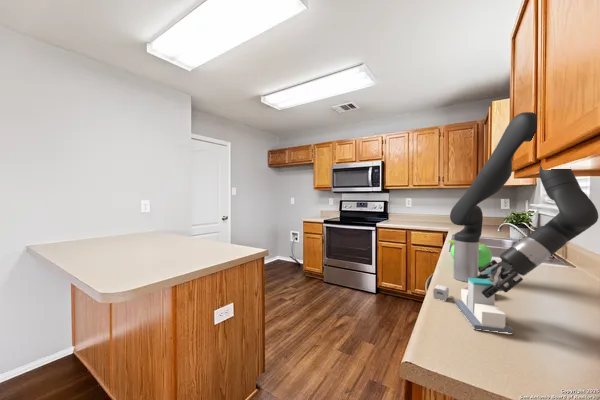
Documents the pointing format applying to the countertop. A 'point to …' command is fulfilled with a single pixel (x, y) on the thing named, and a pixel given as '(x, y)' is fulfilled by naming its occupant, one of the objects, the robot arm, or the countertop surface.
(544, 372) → the countertop surface
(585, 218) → the robot arm
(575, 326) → the countertop surface
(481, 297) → the teal and white module
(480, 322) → the board
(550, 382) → the countertop surface
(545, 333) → the countertop surface
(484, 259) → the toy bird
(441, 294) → the usb wall charger
